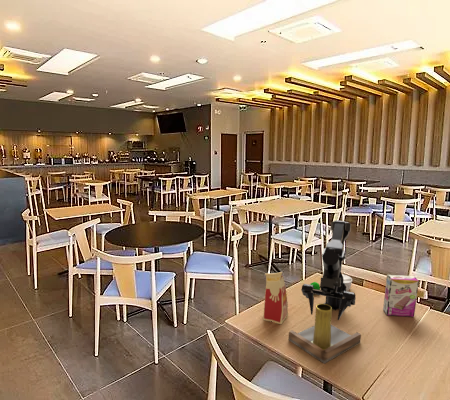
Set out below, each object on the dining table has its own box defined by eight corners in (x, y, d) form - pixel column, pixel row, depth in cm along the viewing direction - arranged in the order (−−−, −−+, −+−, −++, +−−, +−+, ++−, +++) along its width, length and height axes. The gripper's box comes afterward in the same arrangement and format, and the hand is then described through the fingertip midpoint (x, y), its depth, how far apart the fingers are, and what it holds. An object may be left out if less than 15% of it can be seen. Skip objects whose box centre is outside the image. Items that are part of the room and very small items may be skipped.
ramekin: (346, 295, 158) (346, 284, 157) (324, 288, 165) (324, 278, 164) (355, 287, 166) (356, 277, 165) (333, 281, 173) (334, 271, 172)
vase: (334, 344, 117) (336, 307, 115) (325, 352, 113) (327, 313, 110) (318, 337, 122) (320, 301, 119) (309, 344, 117) (311, 306, 115)
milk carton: (287, 314, 140) (289, 269, 137) (282, 324, 132) (283, 277, 128) (267, 309, 144) (268, 265, 140) (260, 319, 136) (261, 273, 132)
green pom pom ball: (307, 292, 160) (308, 283, 159) (310, 288, 164) (311, 279, 163) (318, 295, 158) (318, 285, 157) (321, 291, 162) (321, 282, 161)
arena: (288, 340, 122) (288, 331, 121) (324, 323, 133) (324, 315, 133) (324, 363, 109) (324, 354, 108) (360, 342, 120) (361, 334, 120)
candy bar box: (387, 316, 139) (390, 279, 136) (382, 310, 144) (386, 274, 141) (415, 317, 138) (419, 280, 135) (409, 311, 143) (413, 275, 140)
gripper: (303, 263, 124) (295, 304, 117) (357, 271, 117) (352, 315, 109) (306, 275, 133) (299, 314, 125) (357, 284, 125) (352, 325, 117)
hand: (324, 317), depth 119 cm, fingers open, 9 cm apart
